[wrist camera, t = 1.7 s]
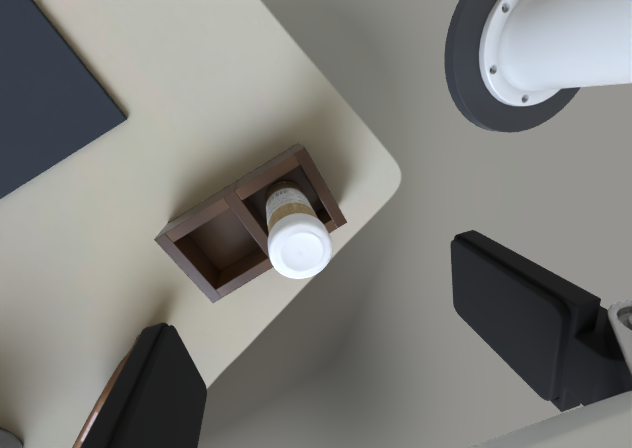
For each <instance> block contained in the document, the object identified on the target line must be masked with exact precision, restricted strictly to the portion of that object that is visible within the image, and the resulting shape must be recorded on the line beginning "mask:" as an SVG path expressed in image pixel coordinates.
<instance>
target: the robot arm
mask: <svg viewBox="0 0 632 448" xmlns="http://www.w3.org/2000/svg"><path fill="white" fill-rule="evenodd" d="M479 66H480V71H481V76H482V79H483V81H484V83H485V86H486V88H487V89H488V90H489V92H490V93H491V95H492V96H494V97H495V98H496V99H497V100H498V101H500V102H502V103H504V104H506V105H511V106H529V105H535V104H538V103H540V102H543V101H545V100H546V99H548V98H550V97H551V96H553V95H554V94H555V93H557V92H558V91H559V90H560V89H562V88H575V87H587V86H600V85H612V84H624V83H632V0H497V2H496V3H495V5H494V6H493V8H492V10H491V12H490V13H489V15H488V18H487V20H486V23H485V25H484V28H483V32H482V36H481V40H480V47H479ZM451 264H452V285H453V303H454V308H455V310H456V312H457V313H458V314H459V315H460V317H461V318H462V319H463V320H464V321H465V322H467V324H468V325H469V326H471V327H472V329H473V330H474V331H475V332H476V333H477V334H478V335H479V336H480V337H481V338H482V339H483V340H484V341H485V342H486V343H487V344H488V345H489V346H490V347H491V348H492V349H493V350H494V351H495V352H496V353H497V354H498V355H499V356H500V357H501V358H502V359H503V360H504V361H505V362H506V363H507V364H508V365H509V366H510V367H511V368H512V369H513V370H514V371H515V372H516V373H517V374H518V375H519V376H520V377H521V378H522V379H523V380H524V381H525V382H526V383H527V384H528V385H529V386H530V387H531V388H532V389H533V390H534V391H535V392H536V393H537V394H538V395H539V396H540V397H541V398H543V399H544V400H547V401H549V400H550V401H551V402H552V403H553V404H554V405H555V406H556V407H557V408H558V409H559V410H560V411H561V412H563V411H566V410H569V409H571V408H574V407H576V406H579V405H580V403H581V404H582V405H584V407H581V408H578V409H575V410H572V411H569V412H566V413H563V414H560V415H558V416H555V417H552V418H549V419H546V420H544V421H541V422H538V423H535V424H533V425H530V426H527V427H525V428H522V429H519V430H516V431H513V432H510V433H508V434H505V435H502V436H500V437H497V438H494V439H491V440H488V441H486V442H483V443H480V444H478V445H475V446H472V447H469V448H632V301H625V302H618V303H616V304H613V305H611V306H610V308H609V309H608V310H607V309H605V308H603V307H601V306H600V301H601V299H600V298H599V297H597V296H595V295H593V294H591V293H589V292H587V291H586V290H584V289H582V288H580V287H578V286H576V285H575V284H573V283H571V282H569V281H567V280H565V279H563V278H562V277H560V276H558V275H556V274H554V273H553V272H551V271H549V270H547V269H545V268H543V267H541V266H540V265H538V264H536V263H534V262H532V261H530V260H528V259H527V258H525V257H523V256H521V255H519V254H517V253H516V252H514V251H512V250H510V249H508V248H506V247H504V246H503V245H501V244H499V243H497V242H495V241H493V240H491V239H490V238H488V237H486V236H484V235H482V234H481V233H478V232H477V231H474V230H471V231H468V232H464V233H461V234H458V235H456V236H455V238H454V240H453V241H451ZM206 397H207V390H206V385H205V383H204V381H203V379H202V377H201V375H200V373H199V372H198V370H197V368H196V366H195V364H194V362H193V360H192V358H191V357H190V355H189V353H188V351H187V349H186V347H185V345H184V343H183V342H182V340H181V338H180V336H179V334H178V332H177V330H176V329H175V327H174V326H173V325H170V326H168V324H166V323H161V324H157V325H154V326H151V327H147V328H145V329H143V331H142V332H141V334H140V336H139V338H138V340H137V342H136V344H135V346H134V347H133V349H132V351H131V353H130V355H129V357H128V359H127V361H126V362H125V364H124V366H123V368H122V370H121V372H120V374H119V376H118V377H117V379H116V381H115V383H114V385H113V387H112V389H111V391H110V392H109V394H108V396H107V398H106V400H105V402H104V404H103V406H102V407H101V409H100V411H99V413H98V415H97V417H96V419H95V421H94V422H93V424H92V426H91V428H90V430H89V432H88V434H87V436H86V438H85V439H84V441H83V443H82V445H81V447H80V448H197V446H198V441H199V435H200V430H201V424H202V419H203V413H204V407H205V402H206Z"/></svg>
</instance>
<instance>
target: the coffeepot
mask: <svg viewBox="0 0 632 448" xmlns="http://www.w3.org/2000/svg"><path fill="white" fill-rule="evenodd" d="M0 448H23V447H22V444H21V442H20V441H19V440H18V438H16V437H15V436H14V435H13V434H11V433H9V432H8V431H5V430H3V429H0Z"/></svg>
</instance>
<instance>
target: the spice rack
mask: <svg viewBox="0 0 632 448" xmlns="http://www.w3.org/2000/svg"><path fill="white" fill-rule="evenodd" d="M280 181H290V182H294V183H295V184H297V185H299V186H300V187H301V189H302V190H303V192H304V195H305V197H306V198H307V200H308V201H309V203H310V205H311V207H312V209H313V210H314V212H315V214H316V216H317V218H318V219H319V220H320V221H321V222H322V223H323V224H324V226H325V228H326V229H327V231H328V233H330V232H332V231H334V230H335V229H337V228H339V227H340V226H342V225H344V224H345V223H347V221H346V219H345V218H344V216H343V214H342V212H341V210H340V209H339V207H338V205H337V203H336V202H335V200H334V198H333V196H332V195H331V193H330V191H329V189H328V187H327V186H326V184H325V182H324V180H323V179H322V177H321V175H320V173H319V172H318V170H317V168H316V166H315V164H314V163H313V161H312V159H311V157H310V156H309V154H308V152H307V150H306V149H305V147H303V146H302V145H301V144H299V143H298V144H296V145H294V146H293V147H291V148H289V149H288V150H286V151H285V152H283V153H281V154H280V155H278V156H276V157H275V158H273V159H271V160H270V161H268V162H267V163H265V164H263V165H262V166H260V167H258V168H257V169H255V170H254V171H252V172H250V173H249V174H247V175H245V176H244V177H242V178H241V179H239V180H237V181H236V182H234V183H232V184H231V185H229V186H228V187H226V188H224V189H223V190H221V191H219V192H218V193H216V194H214V195H213V196H211V197H210V198H208V199H206V200H205V201H203V202H201V203H200V204H198V205H197V206H195V207H193V208H192V209H190V210H188V211H187V212H185V213H184V214H182V215H180V216H179V217H177V218H175V219H174V220H172V221H171V222H169V223H167V225H166V226H165V227H164V228H163V230H162V231H161V232H160V233H159V234H158V236H157V237H156V238H155V239H154V240H155V241H156V242H157V243H158V244H159V245H160V246H161V248H162V249H163V250H164V251H165V252H166V253H167V254H168V255H169V256H170V257H171V258H172V259H173V261H174V262H175V263H176V264H177V265H178V266H179V267H180V268H181V269H182V270H183V271H184V272H185V273H186V275H187V276H188V277H189V278H190V279H191V280H192V281H193V282H194V283H195V284H196V285H197V286H198V288H199V289H200V290H201V291H202V292H203V293H204V294H205V295H206V296H207V297H208V298H209V299H210V301H211V302H212V303H214V302H216V301H217V300H219V299H221V298H222V297H224V296H226V295H227V294H229V293H231V292H232V291H234V290H236V289H237V288H239V287H241V286H242V285H244V284H246V283H247V282H249V281H251V280H252V279H254V278H256V277H257V276H259V275H261V274H262V273H264V272H266V271H267V270H269V269H271V268H272V267H274V266H273V265H272V263H271V261H270V257H269V252H268V237H269V230H268V225H267V214H266V206H265V196H266V193H267V191H268V190H269V188H270V187H271V186H272V185H274V184H276V183H277V182H280Z"/></svg>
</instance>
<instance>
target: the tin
mask: <svg viewBox="0 0 632 448" xmlns="http://www.w3.org/2000/svg"><path fill="white" fill-rule="evenodd" d="M139 336H140V335H138V337H137V338H136V341H135V343H134V345H133V347H134V346H135V344H136V342H137V340H138V338H139ZM133 347H132V349H133ZM132 349H131V350H130V351H129V353H128V354H127V355H126V356H125V357H124V359H123V360H122V361H121V362H120V364H119V365H118V367H117V369H116V370H115V372H114V373H113V375H112V377H111V378H110V380H109V381H108V383H107V385H106V387H105V388H104V390H103V392H102V394H101V395H100V397H99V399H98V400H97V402H96V404H95V406H94V408H93V410H92V411H91V413H90V415H89V417H88V419H87V420H86V422H85V424H84V426H83V428H82V430H81V432H80V434H79V436H78V437H77V439H76V441H75V443H74V445H73V447H72V448H80V447H81V445H82V443H83V441H84V439H85V438H86V436H87V434H88V432H89V430H90V428H91V426H92V424H93V422H94V421H95V419H96V417H97V415H98V413H99V411H100V409H101V407H102V406H103V404H104V402H105V400H106V398H107V396H108V394H109V392H110V391H111V389H112V387H113V385H114V383H115V381H116V379H117V377H118V376H119V374H120V372H121V370H122V368H123V366H124V364H125V362H126V361H127V359H128V357H129V355H130V353H131V351H132Z"/></svg>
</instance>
